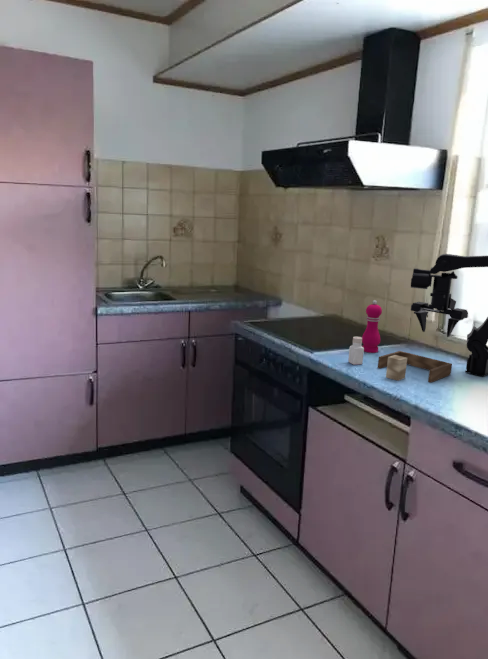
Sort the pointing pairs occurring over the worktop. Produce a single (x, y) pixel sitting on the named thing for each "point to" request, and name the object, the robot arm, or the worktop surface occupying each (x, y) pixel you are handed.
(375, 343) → the pepper mill
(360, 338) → the salt shaker
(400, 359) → the maple block
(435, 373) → the wooden u-shaped frame
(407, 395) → the worktop surface
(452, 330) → the robot arm
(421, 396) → the worktop surface
